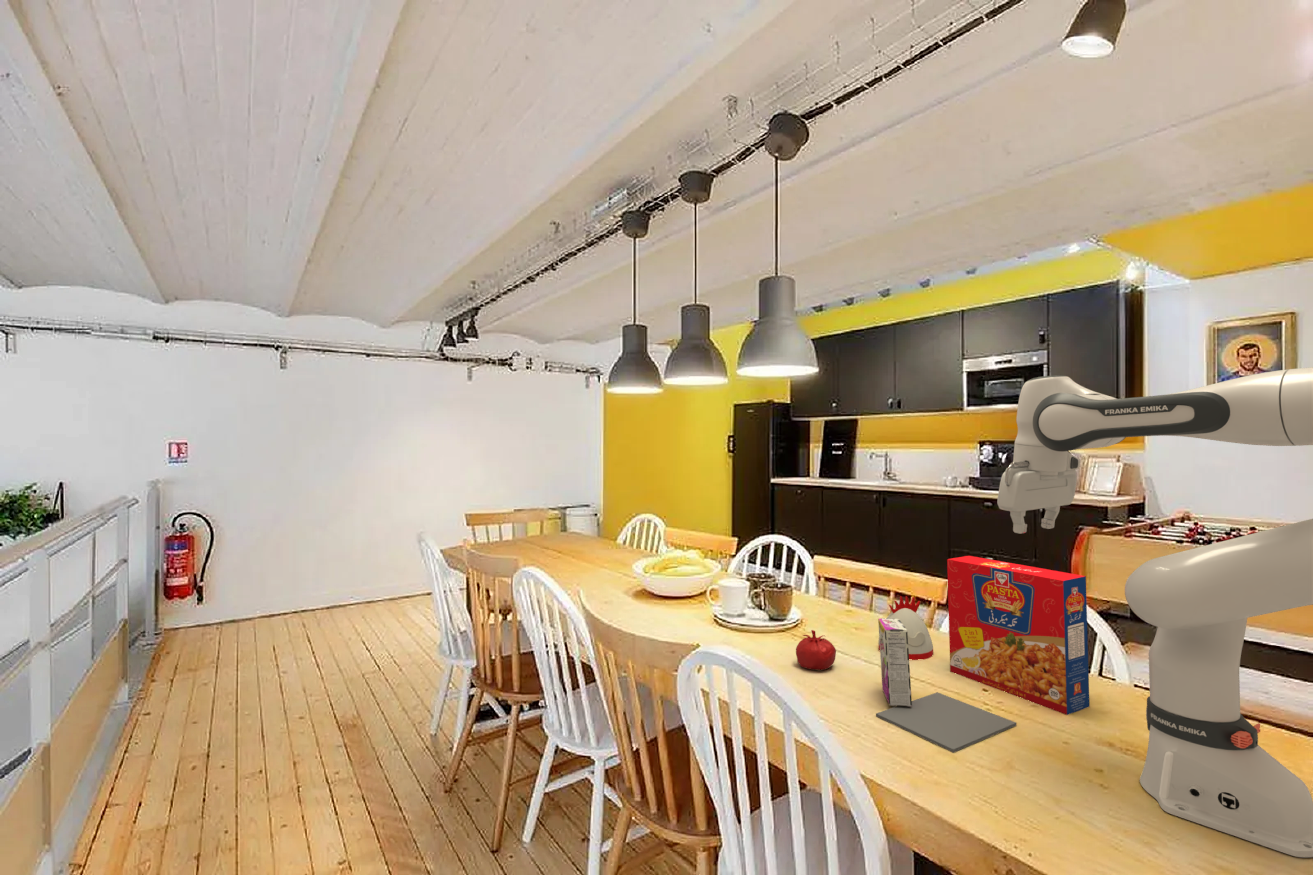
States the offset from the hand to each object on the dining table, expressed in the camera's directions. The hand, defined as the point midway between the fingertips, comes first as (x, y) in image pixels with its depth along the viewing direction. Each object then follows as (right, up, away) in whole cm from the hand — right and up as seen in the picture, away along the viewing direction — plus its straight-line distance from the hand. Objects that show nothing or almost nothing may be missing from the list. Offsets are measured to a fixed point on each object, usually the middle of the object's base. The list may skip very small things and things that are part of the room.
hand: (1033, 530), depth 121 cm
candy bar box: (-20, -40, +17) cm, 48 cm away
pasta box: (+9, -40, +22) cm, 47 cm away
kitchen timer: (-6, -41, +49) cm, 63 cm away
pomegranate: (-32, -41, +39) cm, 65 cm away
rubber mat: (-14, -40, +7) cm, 43 cm away
